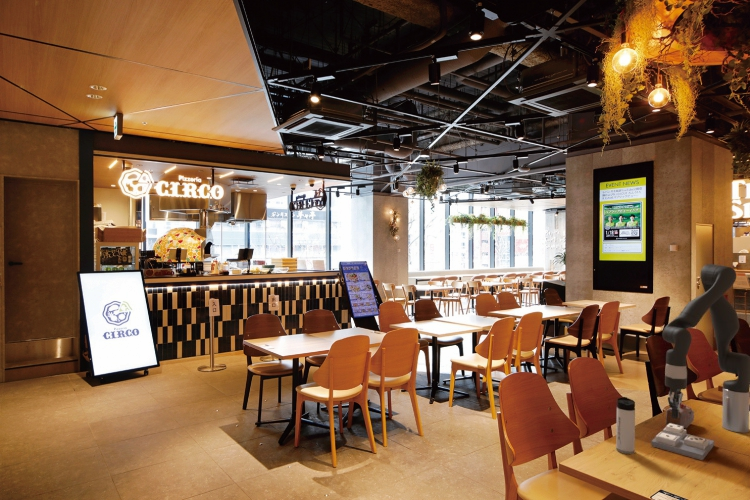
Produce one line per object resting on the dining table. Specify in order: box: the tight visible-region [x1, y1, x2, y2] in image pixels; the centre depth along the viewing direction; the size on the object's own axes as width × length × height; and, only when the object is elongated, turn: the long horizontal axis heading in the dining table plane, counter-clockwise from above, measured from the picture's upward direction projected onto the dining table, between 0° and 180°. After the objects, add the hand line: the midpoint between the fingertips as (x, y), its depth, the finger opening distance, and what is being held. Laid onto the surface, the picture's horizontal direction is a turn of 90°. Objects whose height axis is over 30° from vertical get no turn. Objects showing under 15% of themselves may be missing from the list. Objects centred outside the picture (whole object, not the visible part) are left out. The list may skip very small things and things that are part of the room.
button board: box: [650, 427, 715, 461], centre depth 186 cm, size 19×17×4 cm
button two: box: [665, 423, 684, 433], centre depth 193 cm, size 5×5×2 cm
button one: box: [659, 433, 677, 440], centre depth 186 cm, size 5×5×2 cm
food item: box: [665, 403, 695, 429], centre depth 208 cm, size 14×8×10 cm, turn 129°
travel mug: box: [615, 396, 636, 455], centre depth 181 cm, size 6×7×20 cm
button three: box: [687, 435, 706, 443], centre depth 183 cm, size 5×5×2 cm
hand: (675, 417), depth 192 cm, fingers closed
